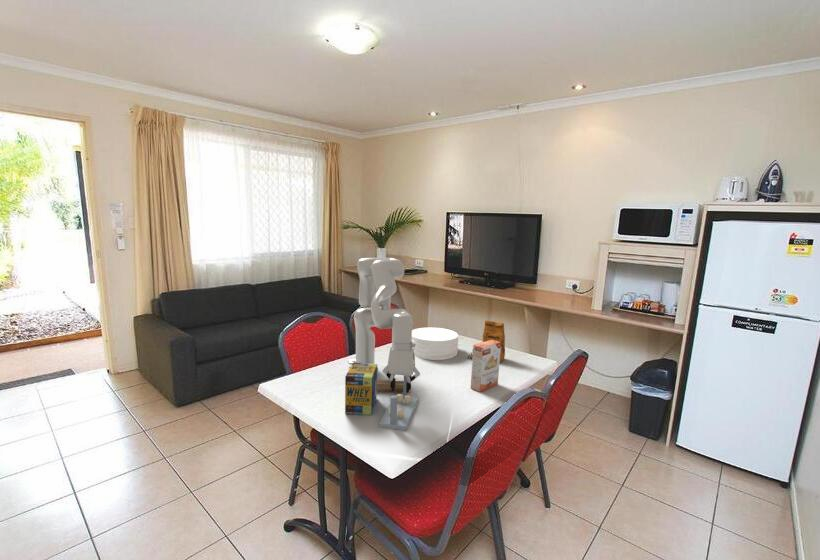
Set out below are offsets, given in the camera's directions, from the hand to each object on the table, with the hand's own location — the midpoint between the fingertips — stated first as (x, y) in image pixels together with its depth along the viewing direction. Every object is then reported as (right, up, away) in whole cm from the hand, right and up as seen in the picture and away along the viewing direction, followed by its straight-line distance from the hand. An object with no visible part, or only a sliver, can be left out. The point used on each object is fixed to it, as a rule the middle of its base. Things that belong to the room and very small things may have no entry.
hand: (400, 390), depth 149 cm
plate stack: (+17, 0, +76) cm, 78 cm away
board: (-5, -7, +22) cm, 24 cm away
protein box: (-16, -8, +6) cm, 19 cm away
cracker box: (+38, -7, +29) cm, 48 cm away
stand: (0, -9, +1) cm, 9 cm away
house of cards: (+41, -2, +65) cm, 77 cm away
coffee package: (+50, -2, +66) cm, 83 cm away
